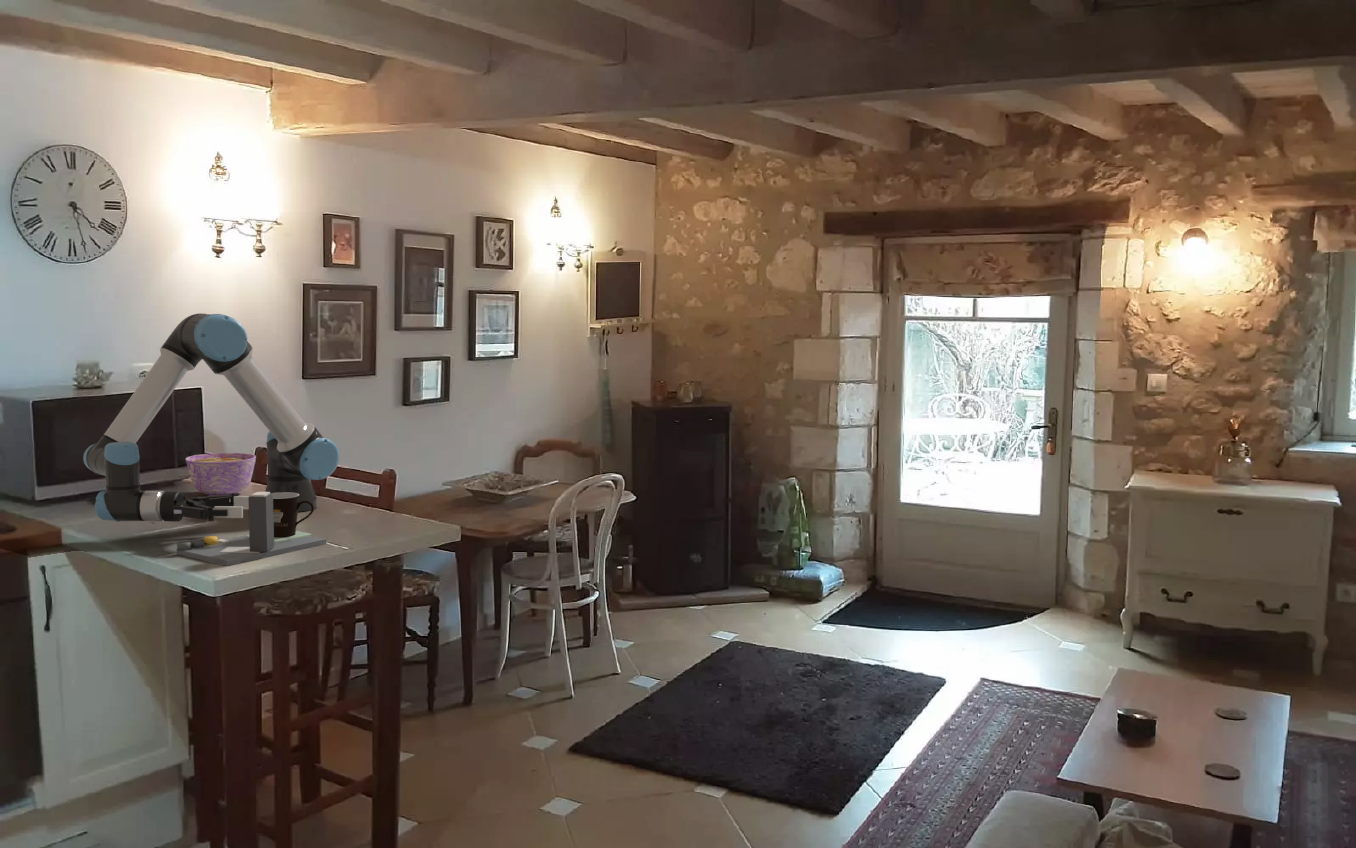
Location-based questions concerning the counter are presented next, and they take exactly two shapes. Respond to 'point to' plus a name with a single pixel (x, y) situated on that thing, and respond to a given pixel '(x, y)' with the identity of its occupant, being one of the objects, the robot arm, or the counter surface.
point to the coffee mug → (286, 513)
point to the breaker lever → (261, 522)
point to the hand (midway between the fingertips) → (251, 507)
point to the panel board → (239, 549)
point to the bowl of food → (221, 472)
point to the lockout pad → (296, 536)
